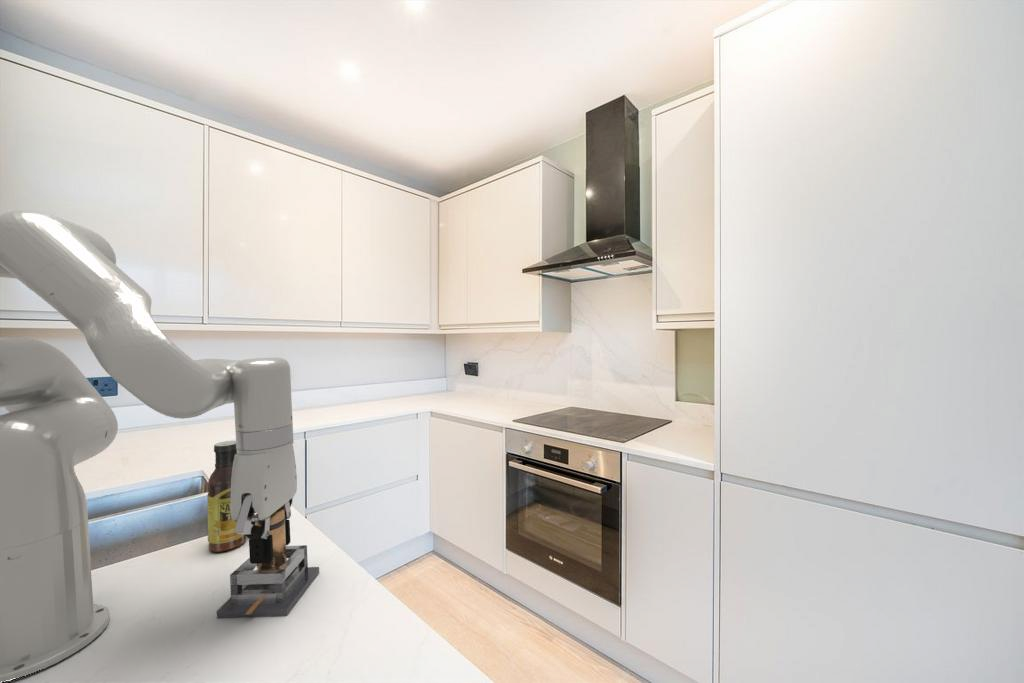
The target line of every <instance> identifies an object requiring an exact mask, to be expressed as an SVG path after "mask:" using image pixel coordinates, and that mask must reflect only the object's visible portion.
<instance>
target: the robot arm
mask: <svg viewBox="0 0 1024 683" xmlns="http://www.w3.org/2000/svg"><path fill="white" fill-rule="evenodd" d="M0 278H6V279H7V278H8V279H16V280H19V281H20V282H21V284H23V285H24V286H26V288H28V289H29V290H30V291H32V292H33V293H35V295H38V297H40V299H42V300H43V301H45V302H46V304H48V305H50V306H51V307H52V308H53V309H54V310H55V311H57V312H58V314H60V315H61V316H62V317H64V319H67V320H68V321H69V322H70V323H71V324H72V325H73V326H75V327H76V328H77V329H78V330H79V331H80V332H82V335H84V338H85V341H86V343H87V345H88V347H89V350H91V352H92V353H93V355H94V357H95V359H96V360H97V361H98V364H99V365H100V366H101V367H102V368H103V370H104V371H105V372H106V373H107V374H108V375H109V376H110V378H112V379H113V380H114V381H115V382H116V383H118V384H119V385H120V386H122V387H123V388H124V389H125V390H126V391H128V392H129V393H130V394H131V395H132V396H134V397H135V398H136V399H138V400H139V401H140V402H142V403H143V404H144V405H145V406H147V407H148V408H150V409H152V410H153V411H155V412H157V413H159V414H161V415H164V416H166V417H169V418H174V419H184V420H185V419H191V418H196V417H198V416H202V415H204V414H206V413H208V412H209V411H211V410H214V409H215V408H219V407H222V406H224V405H227V404H229V405H230V404H233V408H234V410H233V411H234V412H233V413H234V428H235V431H234V432H235V441H236V449H237V454H235V457H234V461H233V468H232V477H231V518H232V520H233V521H237V524H236V528H235V533H237V534H243V535H245V536H246V541H247V540H248V548H249V550H248V551H249V552H248V553H249V558H250V563H252V564H258V563H271V562H272V561H273V539H272V535H269V529H270V515H272V514H273V513H274V512H275V511H277V510H278V509H279V508H280V507H281V508H284V512H285V532H286V546H289V544H290V543H291V525H290V524H291V521H290V518H291V516H292V511H291V507H292V504H293V499H294V497H295V495H296V494H297V490H298V489H297V487H298V480H297V479H298V475H297V464H296V456H295V455H296V454H295V450H294V445H293V444H294V443H295V442H294V441H295V440H294V426H293V424H294V423H293V420H294V419H293V406H292V404H293V403H292V400H293V398H292V385H291V384H292V383H291V380H292V379H291V366H290V363H289V361H288V360H286V359H285V358H281V357H260V358H259V357H256V358H247V359H239V360H237V359H222V358H202V359H195V360H194V359H193V358H191V357H190V356H189V355H188V354H187V353H185V352H184V350H182V349H181V348H180V347H178V346H177V345H176V344H174V342H173V341H172V340H171V339H170V338H168V337H167V335H166V334H164V332H163V331H162V329H160V328H159V327H158V326H157V323H156V322H155V320H154V319H153V316H152V314H151V313H152V312H151V307H152V298H151V296H150V294H149V293H148V291H146V290H145V289H144V288H143V287H142V286H141V285H139V284H138V283H137V282H135V281H134V280H133V278H131V277H130V276H128V274H126V273H125V272H124V271H123V270H122V269H121V268H119V266H117V256H116V253H115V251H114V248H113V247H112V246H111V244H110V242H108V241H107V240H106V238H104V237H103V236H102V235H100V234H99V233H97V232H95V231H93V230H91V229H89V228H87V227H85V226H81V225H80V224H76V223H73V222H71V221H68V220H66V219H64V218H60V217H58V216H55V215H52V214H48V213H45V212H39V211H32V210H14V211H9V212H8V211H7V212H4V213H1V214H0ZM2 408H5V409H6V410H7V413H4V414H1V415H0V682H1V681H2V682H4V681H6V680H10V679H13V678H18V677H22V676H25V675H28V674H30V675H32V674H31V673H33V674H34V672H35V673H37V672H36V671H38V672H40V671H42V669H43V670H45V669H47V668H49V667H51V666H53V665H55V664H58V663H60V662H61V661H64V660H65V659H66V658H69V657H70V656H72V655H73V654H75V653H78V652H79V651H80V650H81V649H83V648H84V647H86V646H87V645H88V644H90V643H92V642H93V641H94V640H95V639H96V638H97V637H99V635H101V634H102V632H104V630H105V629H106V628H107V626H108V624H109V623H110V619H111V615H110V614H111V613H110V609H109V607H107V606H105V605H103V604H97V603H95V604H94V599H93V598H94V597H93V582H92V581H93V580H92V563H91V562H92V561H91V551H90V550H91V548H90V546H91V545H90V533H89V530H90V529H89V515H88V505H87V504H88V502H87V497H86V494H85V490H84V488H83V486H82V483H81V481H79V478H78V476H77V475H76V472H75V468H74V467H75V466H77V465H79V464H81V463H83V462H85V461H87V460H89V459H91V458H93V457H95V456H97V455H99V454H100V453H102V452H103V451H105V450H106V449H107V448H109V447H110V446H111V444H112V443H113V442H114V440H115V439H116V436H117V435H118V428H119V426H118V419H117V417H116V414H115V412H114V411H113V409H112V407H111V406H110V405H109V404H108V402H107V400H105V399H104V398H103V396H102V395H101V394H100V393H99V392H98V390H97V389H96V388H95V387H94V386H93V384H92V383H91V382H90V381H89V380H88V378H87V377H86V376H85V375H84V373H83V372H82V371H81V369H79V368H78V366H77V365H76V364H75V363H74V362H73V360H71V358H69V356H68V355H66V354H65V353H64V352H62V351H61V349H58V348H57V347H55V346H53V345H52V344H49V343H47V342H45V341H42V340H38V339H33V338H29V337H28V338H27V337H1V336H0V409H2ZM257 513H258V515H256V514H257ZM255 515H256V516H255ZM259 521H262V528H261V527H259V526H258V525H255V522H259ZM39 670H40V671H39ZM28 676H29V675H28ZM25 677H26V676H25ZM22 678H23V677H22Z"/></svg>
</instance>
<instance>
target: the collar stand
mask: <svg viewBox="0 0 1024 683" xmlns="http://www.w3.org/2000/svg"><path fill="white" fill-rule="evenodd" d="M286 552H287V561H286V562H285V563H284V564H283V565H282V566H280V567H278V568H276V569H273V570H258V569H257V564H252V563H250V557H248V558H247V559H246V560H245V561H243V563H242V564H240V565H239V566H238V567H237V568H236V569H235V570H234V571H233V572H232V573H231V574H230V575H229V582H230V584H229V585H230V598H228V599H227V600H226V602H224V604H222V606H221V607H219V608H218V609H217V610H216V619H230V618H231V619H232V618H235V619H237V618H262V617H263V618H264V617H284V616H285V617H287V616H288V615H289V613H290V612H291V611H292V609H293V608H294V607H295V606H296V604H297V603H298V601H299V600H300V599H301V598H302V597H303V595H304V594H305V592H306V591H307V590H308V589H309V587H310V585H312V583H313V582H314V580H315V579H316V578H317V576H318V575H320V574H319V573H320V566H310V567H309V564H308V545H307V544H306V545H286ZM255 568H256V570H255Z"/></svg>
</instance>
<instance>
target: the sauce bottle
mask: <svg viewBox="0 0 1024 683" xmlns="http://www.w3.org/2000/svg"><path fill="white" fill-rule="evenodd" d="M213 452H214V453H215V454H214V455H215V460H214V462H215V463H214V470H213V472H212V473H211V474H210V477H209V479H208V481H207V492H208V493H207V497H206V499H207V501H206V502H207V542H208V550H209V551H210V552H213V553H221V552H225V551H226V552H227V551H231V550H233V549H236V548H237V547H239V546H241V545H242V544H244V543H245V542H246V541H247V539H246V536H245V535H243V534H237V533H235V528H236V524H237V521H233V520H232V518H231V477H232V468H233V461H234V457H235V454H237V449H236V440H229V441H228V440H227V441H221V442H218V443H215V444H214V446H213Z"/></svg>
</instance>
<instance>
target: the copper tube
mask: <svg viewBox="0 0 1024 683" xmlns="http://www.w3.org/2000/svg"><path fill="white" fill-rule="evenodd" d="M256 515H258V513H255V516H256ZM255 525H258V526H259V527H261V528H262V521H259V522H255ZM269 535H272V539H273V561H272V562H271V563H258V564H257V566H256V570H257V569H258V570H273V569H276V568H278V567H280V566H282V565H283V564H284V563H285V562H286V561H287V560H288V558H287V552H286V546H287V545H286V532H285V512H284V508H281V507H280V508H279V509H278V510H277V511H275V512H274V513H273V514H272V515H270V529H269Z"/></svg>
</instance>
